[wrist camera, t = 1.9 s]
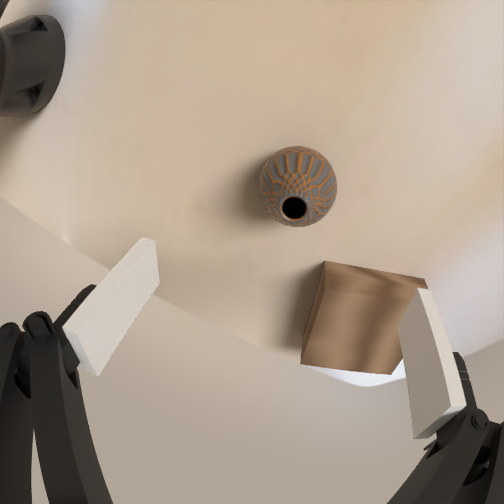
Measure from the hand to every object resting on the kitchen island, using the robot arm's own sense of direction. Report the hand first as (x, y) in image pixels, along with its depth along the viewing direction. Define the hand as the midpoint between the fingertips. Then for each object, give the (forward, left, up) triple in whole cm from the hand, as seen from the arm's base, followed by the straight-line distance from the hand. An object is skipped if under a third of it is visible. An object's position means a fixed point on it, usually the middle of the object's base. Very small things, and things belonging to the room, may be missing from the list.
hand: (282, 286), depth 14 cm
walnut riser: (+11, -16, -18) cm, 26 cm away
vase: (0, 0, -18) cm, 18 cm away
